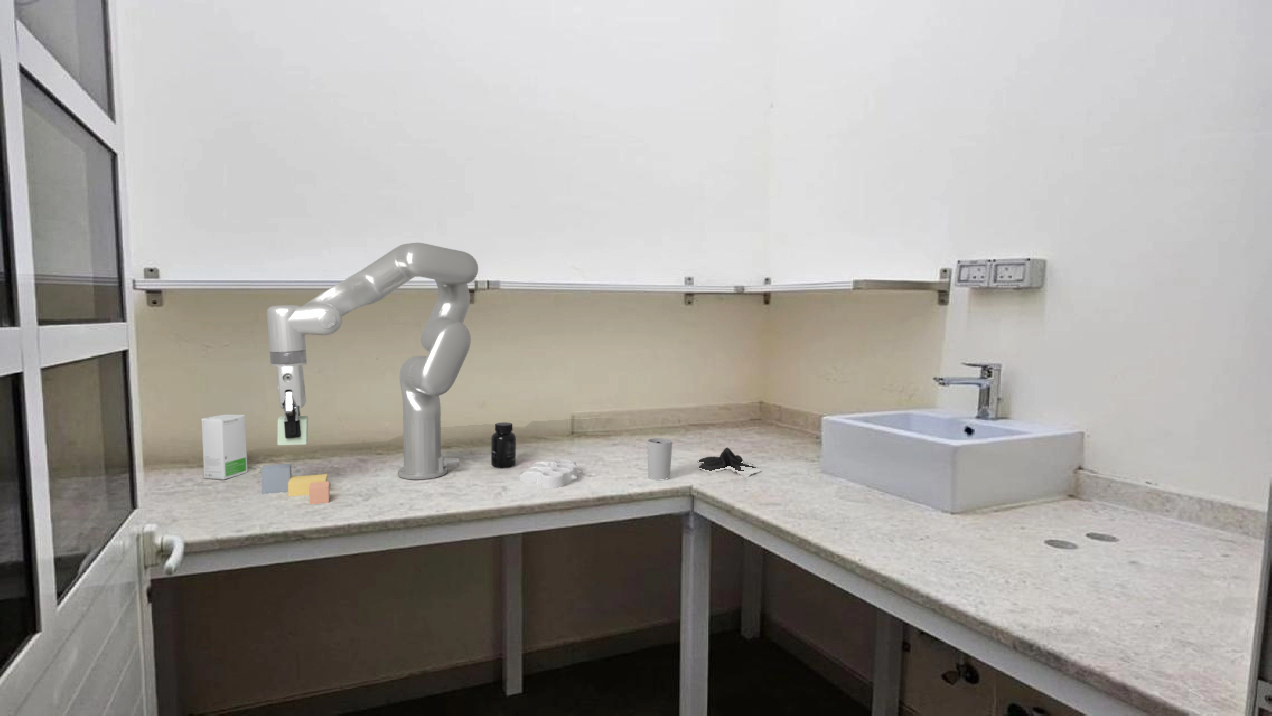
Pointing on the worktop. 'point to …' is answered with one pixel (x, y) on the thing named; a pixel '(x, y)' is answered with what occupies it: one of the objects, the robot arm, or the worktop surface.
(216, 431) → the skincare box
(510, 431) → the supplement bottle
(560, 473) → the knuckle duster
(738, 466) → the cloth
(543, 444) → the worktop surface
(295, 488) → the ochre block
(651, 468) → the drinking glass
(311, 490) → the terracotta cube
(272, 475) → the slate block
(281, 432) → the sage block
